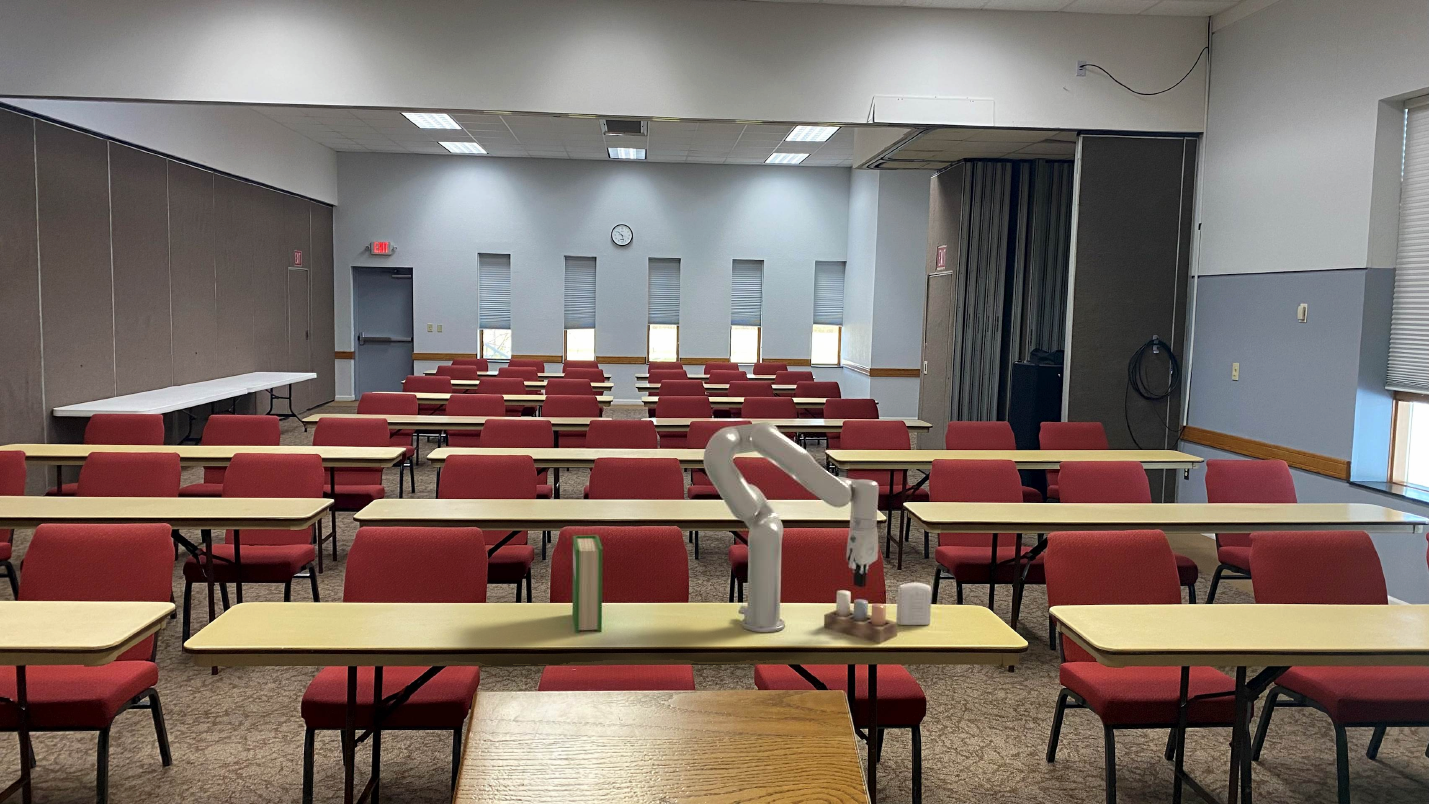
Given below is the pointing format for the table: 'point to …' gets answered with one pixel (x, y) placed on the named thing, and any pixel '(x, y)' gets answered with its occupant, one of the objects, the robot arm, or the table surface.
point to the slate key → (860, 610)
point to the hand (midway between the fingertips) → (859, 585)
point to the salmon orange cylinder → (878, 615)
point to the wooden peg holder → (860, 627)
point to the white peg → (843, 603)
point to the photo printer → (913, 604)
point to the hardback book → (587, 583)
